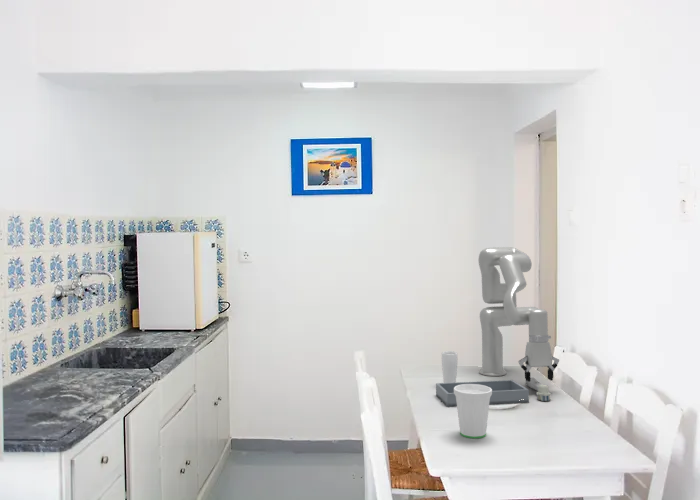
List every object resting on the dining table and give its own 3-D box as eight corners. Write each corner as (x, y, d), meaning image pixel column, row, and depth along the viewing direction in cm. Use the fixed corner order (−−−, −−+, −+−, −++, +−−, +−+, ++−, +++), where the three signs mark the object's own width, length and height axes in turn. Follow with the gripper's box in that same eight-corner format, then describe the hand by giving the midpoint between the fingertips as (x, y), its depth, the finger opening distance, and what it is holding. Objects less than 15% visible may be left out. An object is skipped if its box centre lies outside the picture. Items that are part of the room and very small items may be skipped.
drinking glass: (440, 388, 253) (440, 353, 253) (443, 384, 260) (443, 350, 259) (455, 389, 251) (455, 354, 250) (459, 385, 257) (458, 351, 257)
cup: (484, 443, 187) (484, 395, 187) (448, 436, 194) (447, 390, 193) (497, 431, 198) (497, 386, 197) (462, 425, 204) (461, 382, 204)
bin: (436, 395, 242) (435, 383, 242) (512, 391, 246) (512, 379, 246) (447, 406, 226) (447, 393, 226) (528, 402, 231) (528, 389, 230)
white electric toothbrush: (535, 376, 256) (551, 383, 231) (536, 392, 255) (552, 400, 231) (523, 376, 256) (538, 383, 232) (524, 392, 256) (539, 400, 231)
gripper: (553, 336, 248) (554, 377, 248) (514, 338, 245) (515, 379, 245) (562, 339, 240) (563, 381, 240) (522, 341, 238) (523, 383, 238)
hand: (539, 380), depth 243 cm, fingers open, 9 cm apart
